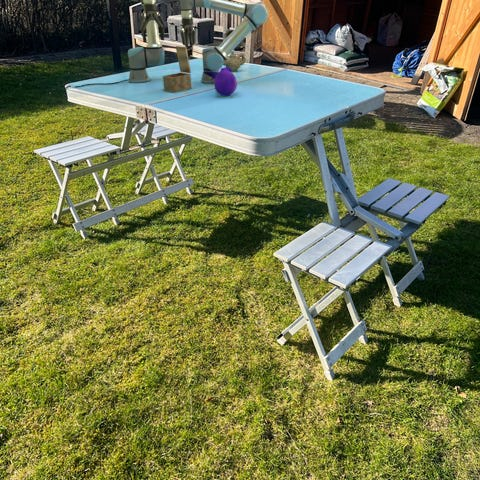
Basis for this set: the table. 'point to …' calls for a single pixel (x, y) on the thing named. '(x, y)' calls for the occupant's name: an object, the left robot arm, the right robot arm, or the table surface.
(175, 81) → the chest
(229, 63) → the teapot
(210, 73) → the toy
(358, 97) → the table surface
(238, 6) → the right robot arm
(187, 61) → the lid
